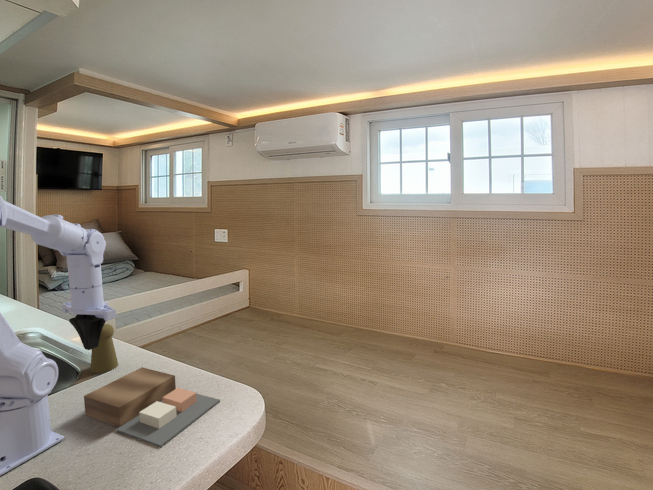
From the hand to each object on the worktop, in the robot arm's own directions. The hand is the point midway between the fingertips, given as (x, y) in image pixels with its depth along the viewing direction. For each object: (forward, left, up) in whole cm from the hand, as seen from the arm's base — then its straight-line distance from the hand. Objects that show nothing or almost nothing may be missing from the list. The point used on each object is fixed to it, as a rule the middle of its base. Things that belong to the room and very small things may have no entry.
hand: (91, 347), depth 75 cm
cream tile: (-2, -21, -8) cm, 22 cm away
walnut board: (0, -11, -10) cm, 15 cm away
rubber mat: (0, -22, -10) cm, 24 cm away
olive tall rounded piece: (+9, +10, -11) cm, 17 cm away
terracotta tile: (+4, -21, -8) cm, 22 cm away
